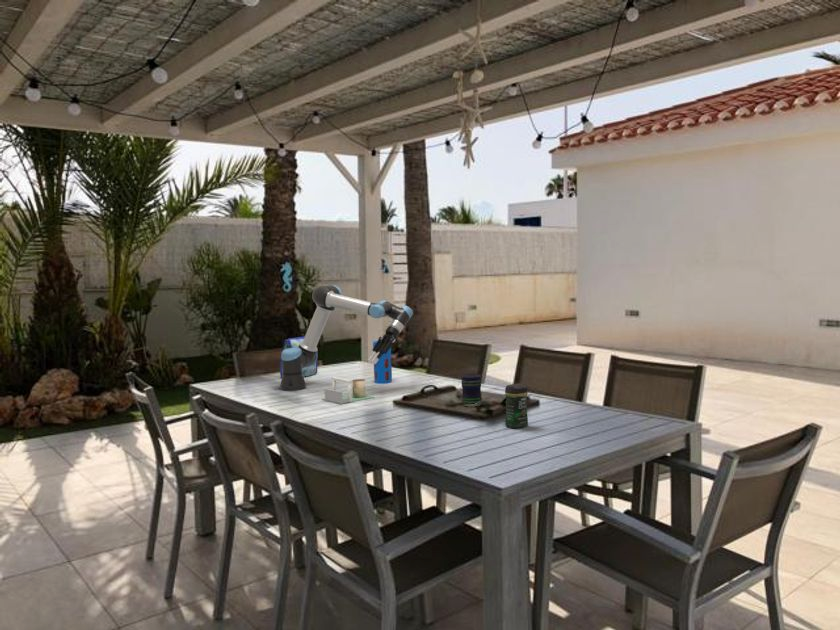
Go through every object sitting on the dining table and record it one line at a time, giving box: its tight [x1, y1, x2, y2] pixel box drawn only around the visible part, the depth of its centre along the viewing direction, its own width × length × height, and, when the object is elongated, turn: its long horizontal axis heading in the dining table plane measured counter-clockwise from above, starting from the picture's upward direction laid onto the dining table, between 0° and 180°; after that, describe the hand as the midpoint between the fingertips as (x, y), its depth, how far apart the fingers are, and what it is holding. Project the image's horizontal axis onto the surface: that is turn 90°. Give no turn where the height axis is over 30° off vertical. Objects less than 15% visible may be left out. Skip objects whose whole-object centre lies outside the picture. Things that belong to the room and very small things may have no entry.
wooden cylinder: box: [351, 378, 367, 398], centre depth 365 cm, size 7×7×9 cm
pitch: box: [321, 392, 375, 405], centre depth 363 cm, size 18×22×1 cm
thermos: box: [372, 340, 393, 385], centre depth 410 cm, size 11×11×25 cm
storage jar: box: [461, 373, 483, 404], centre depth 336 cm, size 10×10×15 cm
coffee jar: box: [504, 382, 529, 429], centre depth 290 cm, size 10×8×19 cm
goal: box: [324, 376, 353, 405], centre depth 356 cm, size 16×7×11 cm, turn 41°
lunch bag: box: [279, 335, 319, 379], centre depth 439 cm, size 22×17×26 cm
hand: (371, 362), depth 370 cm, fingers open, 3 cm apart
